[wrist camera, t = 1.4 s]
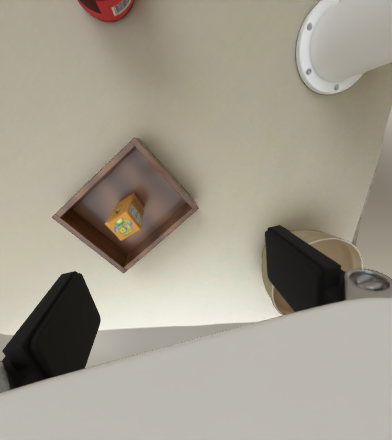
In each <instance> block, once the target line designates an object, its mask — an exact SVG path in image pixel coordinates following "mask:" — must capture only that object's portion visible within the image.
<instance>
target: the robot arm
mask: <svg viewBox="0 0 392 440" xmlns="http://www.w3.org/2000/svg"><path fill="white" fill-rule="evenodd" d="M296 62H297V67H298V71H299V74H300V76H301V78H302V80H303V82H304V83H305V84H306V86H307V87H309V88H310V89H311V90H312V91H314V92H316V93H319V94H323V95H330V94H334V93H338V92H341V91H344V90H346V89H347V88H349V87H351V86H352V85H353V84H354V83H355V82H357V81H358V79H359V78H360V77H361V76H362V75H363V73H364V72H367V71H369V70H372V69H375V68H378V67H380V66H383V65H386V64H389V63H392V0H321V1H320V2H319V3H318V4H317V5H316V6H315V7H314V8H313V9H312V10H311V12H310V13H309V14H308V16H307V17H306V19H305V21H304V23H303V25H302V27H301V30H300V32H299V36H298V40H297V45H296ZM265 243H266V262H267V276H268V279H269V281H270V282H271V283H272V284H273V286H274V287H275V288H276V289H277V291H278V292H279V293H280V294H281V296H282V297H283V298H284V299H285V301H286V302H287V303H288V304H289V306H290V307H291V308H292V309H293V310H294V313H290V314H287V315H283V316H279V317H275V318H271V319H268V320H264V321H260V322H256V323H252V324H249V325H245V326H242V327H237V328H234V329H230V330H226V331H222V332H219V333H215V334H211V335H207V336H204V337H200V338H196V339H192V340H189V341H185V342H181V343H177V344H174V345H170V346H167V347H163V348H159V349H155V350H152V351H148V352H144V353H141V354H137V355H133V356H129V357H125V358H122V359H118V360H114V361H111V362H107V363H104V364H100V365H97V366H92V367H89V368H85V366H86V363H87V360H88V357H89V354H90V351H91V348H92V346H93V342H94V340H95V337H96V334H97V331H98V328H99V325H100V315H99V313H98V310H97V308H96V306H95V303H94V301H93V299H92V296H91V294H90V292H89V289H88V287H87V285H86V283H85V280H84V278H83V276H82V274H80V273H79V274H78V273H77V272H76V271H74V272H70V273H65V274H62V275H61V276H60V277H59V278H58V280H57V281H56V282H55V283H54V285H53V286H52V287H51V289H50V290H49V291H48V292H47V294H46V295H45V296H44V298H43V299H42V300H41V302H40V303H39V304H38V305H37V307H36V308H35V309H34V311H33V312H32V313H31V314H30V316H29V317H28V318H27V320H26V321H25V322H24V323H23V325H22V326H21V327H20V329H19V330H18V331H17V332H16V334H15V335H14V336H13V338H12V339H11V340H10V342H9V343H8V344H7V345H6V347H5V348H4V349H3V353H4V354H5V358H4V359H3V360H2V361H0V440H392V279H391V278H390V277H388V276H386V275H384V274H383V273H380V272H377V271H374V270H369V269H361V268H358V269H351V270H348V271H347V272H345V271H343V270H342V269H341V265H340V264H338V263H337V262H335V261H334V260H332V259H331V258H329V257H328V256H326V255H325V254H323V253H322V252H320V251H319V250H317V249H315V248H314V247H312V246H311V245H309V244H308V243H306V242H305V241H303V240H302V239H300V238H299V237H297V236H296V235H294V234H293V233H291V232H290V231H288V230H287V229H285V228H284V227H282V226H280V225H278V226H274V227H269V228H268V231H266V232H265Z"/></svg>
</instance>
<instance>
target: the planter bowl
mask: <svg viewBox="0 0 392 440" xmlns="http://www.w3.org/2000/svg"><path fill="white" fill-rule="evenodd" d="M291 233H293V234H294V235H296V236H297V237H299V238H300V239H302V240H303V241H305V242H306V243H308V244H309V245H311V246H312V247H314V248H315V249H317V250H319V251H320V252H322V253H323V254H325V255H326V256H328V257H329V258H331V259H332V260H334V261H335V262H337V263H338V264H340V265H341V269H342V270H343V271H345V272H347V271H348V270H351V269H358V268H361V269H363V260H362V256H361V254H360V252H359V250H358V249H357V248H356V247H355V246H354V245H353V244H352V243H350V242H348V241H346V240H344V239H341V238H338V237H335V236H332V235H329V234H327V233H323V232H319V231H312V230H297V231H292V232H291ZM262 278H263V282H264V285H265V288H266V291H267V293H268V295H269V296H270V298H271V300H272V303H273V305H274V307H275V308H276V310H277V311H278V312H279V313H280V314H281V315H282V316H283V315H287V314H290V313H294V310H293V309H292V308H291V307H290V306H289V304H288V303H287V302H286V301H285V299H284V298H283V297H282V296H281V294H280V293H279V292H278V291H277V289H276V288H275V287H274V286H273V284H272V283H271V282H270V281H269V279H268V276H267V262H266V245H265V247H264V249H263V252H262Z"/></svg>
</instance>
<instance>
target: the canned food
mask: <svg viewBox="0 0 392 440" xmlns="http://www.w3.org/2000/svg"><path fill="white" fill-rule="evenodd" d="M78 1H79V3H80V4H81V6H82V7H83V8H84V9H85V10H86V11H87V12H88V13H90V14H91V15H92V16H94V17H96V18H98V19H99V20H102V21H106V22H113V21H117V20H119V19H121V18H123V17H124V16H125V15H126V14H127V13H128V11H129V10H130V8H131V6H132V3H133V0H78Z"/></svg>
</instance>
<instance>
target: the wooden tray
mask: <svg viewBox="0 0 392 440" xmlns="http://www.w3.org/2000/svg"><path fill="white" fill-rule="evenodd" d="M132 193H135V194H136V195H137V197H138V198H139V200H140V201H141V202H142V204H143V205H144V213H143V219H142V225H141V230H139V231H137V232H136V233H134V234H132V235H131V236H129V237H127V238H125V239H124V240H122V241H121V240H120V239H119V238H118V237H117V236H116V235H115V234H114V233H113V232H112V231H111V230H110V229H109V228H108V227H107V226H106V225H105V223H106V221H107V219H108V218H109V216H110V214H111V213H112V211H113V209H114V208H115V206H116V205H117V203H118V202H119V201H120V200H122V199H123V198H125V197H127V196H128V195H130V194H132ZM198 209H199V208H198V206H197V204H196V202H195V201H194V199H193V198H192V197H191V196H190V195H189V194H188V193H187V192H186V191H185V189H184V188H183V187H182V186H181V185H180V184H179V183H178V182H177V181H176V179H175V178H174V177H173V176H172V175H171V174H170V173H169V172H168V170H167V169H166V168H165V167H164V166H163V165H162V164H161V163H160V162H159V160H158V159H157V158H156V157H155V156H154V155H153V154H152V153H151V152H150V150H149V149H148V148H147V147H146V146H145V145H144V144H143V143H142V142H141V140H140V139H139V138H134V139H133V140H131V142H129V143H128V144H127V145H126V146H125V147H124V148H123V149H122V150H121V151H120V152H119V153H118V154H117V155H116V156H115V157H114V158H113V159H112V160H111V161H110V162H109V163H108V164H107V165H106V166H104V167H103V168H102V169H101V170H100V171H99V172H98V173H97V174H96V175H95V176H94V177H93V178H92V179H91V180H90V181H89V182H88V183H87V184H86V185H85V186H84V187H83V188H82V189H81V190H80V191H79V192H78V193H76V194H75V195H74V196H73V197H72V198H71V199H70V200H69V201H68V202H67V203H66V204H65V205H64V206H63V207H62V208H61V209H60V210H59V211H58V212H57V213H56V214H55V215H54V216H53V217H52V218H53V219H54V220H56V221H57V222H58V223H60V224H61V225H62V226H63V227H65V228H66V229H67V230H69V231H70V232H71V233H72V234H74V235H75V236H76V237H78V238H79V239H80V240H81V241H83V242H84V243H85V244H87V245H88V246H89V247H90V248H92V249H93V250H94V251H96V252H97V253H98V254H99V255H101V256H102V257H103V258H105V259H106V260H107V261H108V262H110V263H111V264H112V265H114V266H115V267H116V268H117V269H119V270H120V271H121V272H123V273H125V272H126V271H127V270H128V269H129V268H131V267H132V266H133V265H134V264H135V263H136V262H138V261H139V260H140V259H141V258H142V257H143V256H144V255H146V254H147V253H148V252H149V251H150V250H151V249H153V248H154V247H155V246H156V245H157V244H158V243H159V242H161V241H162V240H163V239H164V238H165V237H166V236H168V235H169V234H170V233H171V232H172V231H173V230H175V229H176V228H177V227H178V226H179V225H180V224H181V223H183V222H184V221H185V220H186V219H187V218H188V217H190V216H191V215H192V214H193V213H194V212H195V211H197V210H198Z"/></svg>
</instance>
